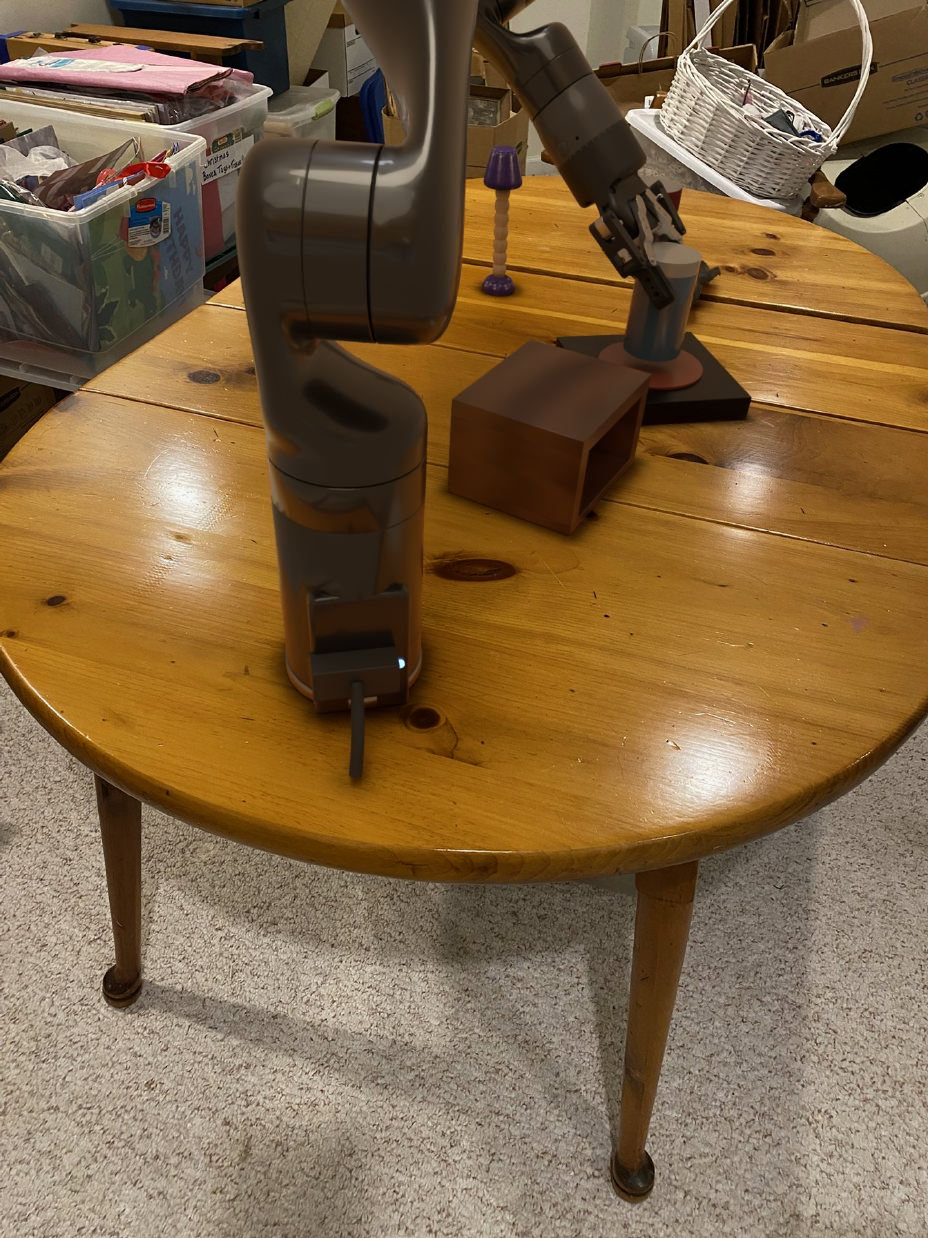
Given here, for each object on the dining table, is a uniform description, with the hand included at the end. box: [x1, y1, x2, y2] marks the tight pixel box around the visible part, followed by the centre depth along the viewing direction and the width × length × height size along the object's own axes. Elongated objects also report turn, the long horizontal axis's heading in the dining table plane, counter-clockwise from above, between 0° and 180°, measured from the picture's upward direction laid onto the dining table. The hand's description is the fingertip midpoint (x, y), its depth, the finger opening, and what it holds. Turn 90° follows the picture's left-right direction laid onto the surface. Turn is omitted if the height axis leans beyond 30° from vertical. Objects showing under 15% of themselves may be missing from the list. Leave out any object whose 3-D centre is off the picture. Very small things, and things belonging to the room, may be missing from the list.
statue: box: [691, 259, 722, 307], centre depth 116 cm, size 6×6×20 cm
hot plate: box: [555, 331, 753, 426], centre depth 98 cm, size 16×16×3 cm
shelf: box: [446, 339, 651, 537], centre depth 82 cm, size 12×14×9 cm
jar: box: [623, 242, 703, 362], centre depth 93 cm, size 6×6×10 cm
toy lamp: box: [481, 144, 523, 297], centre depth 112 cm, size 5×5×17 cm
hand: (679, 293), depth 92 cm, fingers closed on jar, 6 cm apart
